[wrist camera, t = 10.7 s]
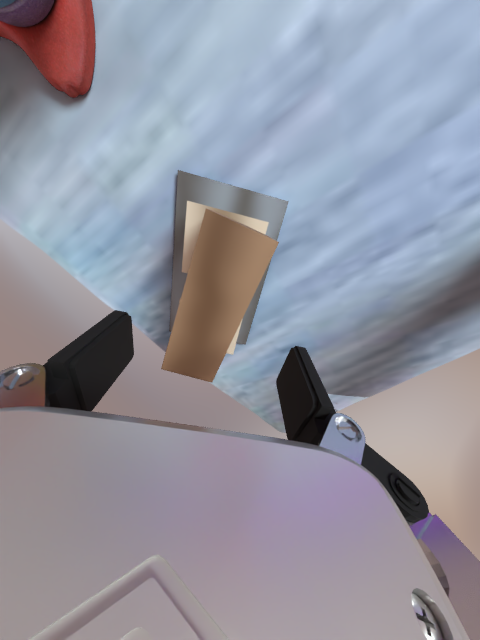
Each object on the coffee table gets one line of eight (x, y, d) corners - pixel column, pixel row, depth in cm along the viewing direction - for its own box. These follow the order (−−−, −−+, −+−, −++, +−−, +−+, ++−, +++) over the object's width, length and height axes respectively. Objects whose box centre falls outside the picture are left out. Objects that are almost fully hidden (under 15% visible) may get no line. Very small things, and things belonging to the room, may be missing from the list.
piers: (287, 202, 21) (307, 196, 15) (245, 342, 30) (247, 371, 25) (179, 171, 19) (155, 152, 14) (170, 329, 29) (154, 357, 23)
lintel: (267, 235, 16) (279, 242, 12) (216, 350, 23) (211, 382, 18) (214, 210, 15) (205, 208, 11) (176, 338, 22) (161, 369, 17)
